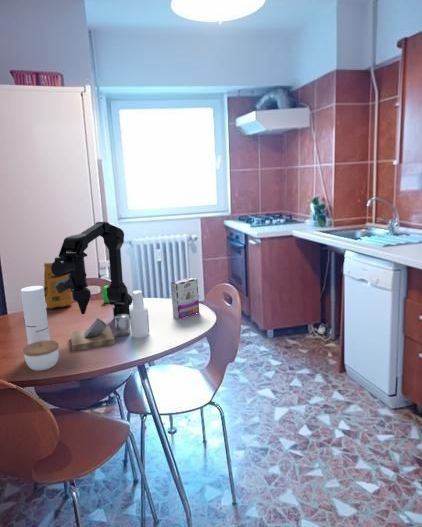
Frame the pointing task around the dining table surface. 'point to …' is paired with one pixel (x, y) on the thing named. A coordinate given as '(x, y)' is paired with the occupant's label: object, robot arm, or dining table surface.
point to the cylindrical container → (35, 314)
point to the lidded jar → (41, 354)
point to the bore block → (91, 339)
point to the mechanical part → (105, 294)
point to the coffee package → (51, 292)
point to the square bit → (95, 329)
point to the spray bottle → (139, 316)
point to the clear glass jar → (122, 325)
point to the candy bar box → (185, 297)
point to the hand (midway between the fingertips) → (81, 310)
